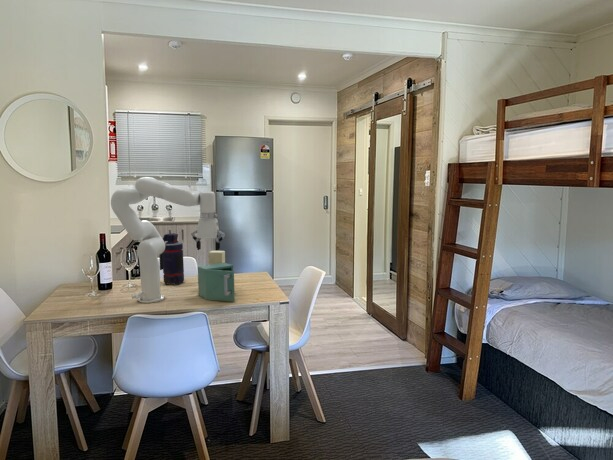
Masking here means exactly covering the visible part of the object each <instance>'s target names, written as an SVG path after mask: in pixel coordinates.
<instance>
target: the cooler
mask: <svg viewBox="0 0 613 460" xmlns="http://www.w3.org/2000/svg"><path fill="white" fill-rule="evenodd" d="M205 270H222V271H234V265H233V264H231V263H227V262H225V263H218V264H210V265H209V264H203V265H197V284H198V285H197V286H198V296H199V297H201V298H203V299H205V300H207V297H206V271H205Z"/></svg>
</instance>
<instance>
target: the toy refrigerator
mask: <svg viewBox="0 0 613 460" xmlns="http://www.w3.org/2000/svg"><path fill="white" fill-rule="evenodd" d="M207 255H208V265H210V264H218V263H226V251H225V250H218V251H217V250H210V251H208V254H207Z"/></svg>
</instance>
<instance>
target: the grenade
mask: <svg viewBox="0 0 613 460" xmlns="http://www.w3.org/2000/svg"><path fill="white" fill-rule="evenodd" d="M178 238H179V233H175V232H174V233H172V232H169V233H165V234H164V235H163V237H162V239H163V241H164V243H165V250H164V252H163V253H161V254H160V255H158V256H159V257H158V259H159V269H160V271H162V273H163V277H162V278H163V283H164V285H174V286H178V285H180V283H184V281H185V270H184V269H185V266H184V265H185V264H184V243H182V242H179V240H178Z"/></svg>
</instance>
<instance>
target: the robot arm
mask: <svg viewBox="0 0 613 460" xmlns="http://www.w3.org/2000/svg"><path fill="white" fill-rule="evenodd" d="M149 197H153V198H157V199H161V200H164V201H167V202H169V203H172V204H175V205H179V206H184V207H194V206H199V219H198V222H197V229H196V230H195V231H192V232H191V233H190V235H191V237H192V239H193V240H194V241H195V243H196V244H195V245H196V249H197V251H200V250H201V248H202V247H201V246H202V244H201V243H202V242H201V240H202V239H205V240H215V241H216V242H215V251H220V249H221V242H222V241H223V240H224V239H225V237H226V233H225V232H222V231H221V230H220V228H219V221H218V218H217V217H219V214H218V213H216V193H215V192H214V191H208V190H207V191H205V190H204V191H201V190H185V189H182V188H181V189H180V188H176V187H175V186H173V185H171V184H170V183H168V182H165V181H161V180H159V179H157V178H155V177H152V176H151V177H150V176H141V177H139V178H138V179H137V180H136V181H135V183H134V186H133V187H122V188H119V189H117V190H115V191H114V192H113V193H112V195H111V197H110V206H111V210H112V211H113V213H114V214H115V215H116V217H117V218H118V220H119V222H120V223H121V225H122V227H123V228H124V230H125V231H126V233H127V234H128V236H129V237H130V238H131V240H133V241H140V240H142V241H141V242H140V243H139V244H138V246H137V249H136V253H137V257H138V261H139V272H140V273H139V277H140V291H139V293H137V294H131V300H133V299H136V300H138V302H139V303H142V304H150V303H151V304H152V303H157V302H161V301H163V300H165V296H164V295H163V294H162V288H161V272H160V271H161V270H160V260H159V257H158V256H159V255H160V254H161V253H163V252H164V250H165V243H166V242H164V241H163V237H162V236H161V234H160V232H159V231H158V229H157V228H156V227H155V225H154V224H153V223H152V222H151V221H149V220H147V219H146V220H144V219H143V220H141V218H139V216H138V214H137V213H136V212H135V211H134V209H133V208H132V207H131V206H130V205H135V204H139V203H141V202H143V201H144V200H146V199H147V198H149ZM196 235H197V236H196ZM220 235H221V236H220Z"/></svg>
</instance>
